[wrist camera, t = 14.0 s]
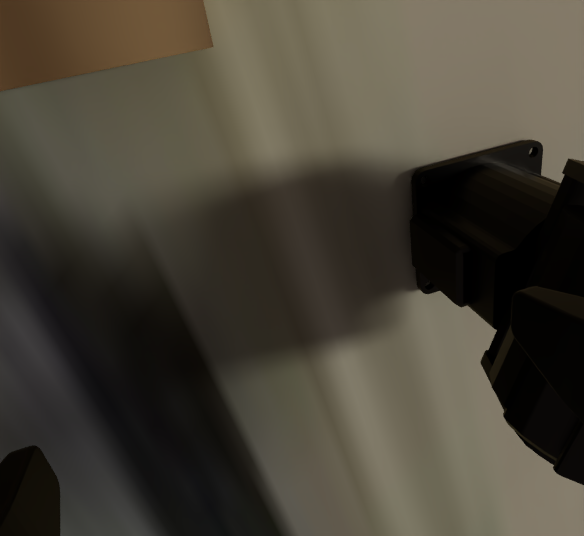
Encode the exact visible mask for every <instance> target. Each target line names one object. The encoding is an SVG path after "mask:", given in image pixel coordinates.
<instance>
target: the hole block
mask: <svg viewBox="0 0 584 536" xmlns="http://www.w3.org/2000/svg"><path fill="white" fill-rule="evenodd" d="M211 47H213V43H212V38H211V34H210V29H209V25H208V20H207V16H206V11H205V7H204V2H203V0H0V91H3V90H8V89H13V88H18V87H22V86H27V85H32V84H37V83H42V82H47V81H51V80H56V79H61V78H66V77H71V76H76V75H80V74H85V73H90V72H95V71H100V70H105V69H109V68H114V67H119V66H124V65H129V64H134V63H138V62H143V61H148V60H153V59H158V58H163V57H167V56H172V55H177V54H182V53H187V52H192V51H196V50H201V49H206V48H211Z"/></svg>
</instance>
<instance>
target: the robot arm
mask: <svg viewBox="0 0 584 536" xmlns="http://www.w3.org/2000/svg"><path fill="white" fill-rule="evenodd" d="M531 148H532V152H531V153H530V154H529V151H530V149H531ZM542 155H543V146H542V144H541V143H540V142H538V141H534V140H526V141H522V142H518V143H514V144H511V145H507V146H503V147H499V148H495V149H492V150H488V151H484V152H480V153H477V154H473V155H469V156H465V157H461V158H458V159H454V160H450V161H446V162H442V163H439V164H435V165H431V166H427V167H423V168H420V169H418V170H417V171H416V172H415V173H414V174H413V176H412V180H411V185H412V204H413V216H412V218H411V220H410V232H411V250H412V265H413V266H414V267H415V268H416V278H417V287H418V288H419V289H420V290H421V291H422V292H423V293H425V294H431V293H434V292H437V291H441V292H442V293H443V294H445V295H446V296H447V297H448V298H449V299H450V300H451V301H452V302H453V303H455V304H456V305H458V306H459V307H464V306H467V305H468V306H469V307H470V308H471V309H472V310H473V311H475V312H476V313H477V314H478V315H479V316H480V317H481V318H483V319H484V320H485V321H486V322H487V323H488V324H489V325H491V326H492V327H493V328H494V329H496V330H497V332H496V334H495V336H494V338H493V341H492V343H491V345H490V348H489V350H486V351H485V353H484V355H483V357H482V359H481V365H482V367H483V369H484V371H485V373H486V375H487V377H488V379H489V381H490V383H491V386H492V388H493V390H494V391H495V393H496V395H497V397H498V399H499V401H500V403H501V405H502V407H503V409H504V413H503V417H504V418H505V420H506V422H507V423H508V425H509V426H510V427H511V428H512V429H514V431H515V432H516V434H517V435H518V436H519V437H520V439H521V440H522V441H523V442H524V443H525V445H526V446H527V447H529V448H530V449H532V450H533V451H534V452H535V453H537V454H538V455H539V456H541V457H542V458H544V459H545V460H547V461H548V462H550V463H551V464H553V465H554V466H553V469H554V471H555V472H556V473H557V474H559V475H561V476H563V477H565V478H568V479H570V480H572V481H575V482H577V483H580V484H582V485H584V161H579V160H574V159H568V161H567V163H566V165H565V167H564V170H563V172H562V173H563V174H565V175H564V178H563V180H562V182H561V183H559V182H556V181H554V180H551V179H549V178H546V177H544V176H541V167H542ZM424 176H426V177H427V178H426V181H425V182H424V183H423V184H421V183H420V182H421V179H422V178H423V177H424ZM428 281H430V283H429V284H428V285H427V286H425V285H426V283H427V282H428ZM0 536H60V487H59V482H58V479H57V476H56V475H55V473H54V471H53V469H52V468H51V466H50V464H49V463H48V461H47V459H46V458H45V456H44V454H43V453H42V451H41V450H40V448H38V447H37V446H33V445H32V446H28V447H25V448H22V449H19V450H16V451H13V452H11V453H9V454H8V455H7V456H6V457H5V458H4V459H3V461H2V462H1V463H0Z"/></svg>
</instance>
